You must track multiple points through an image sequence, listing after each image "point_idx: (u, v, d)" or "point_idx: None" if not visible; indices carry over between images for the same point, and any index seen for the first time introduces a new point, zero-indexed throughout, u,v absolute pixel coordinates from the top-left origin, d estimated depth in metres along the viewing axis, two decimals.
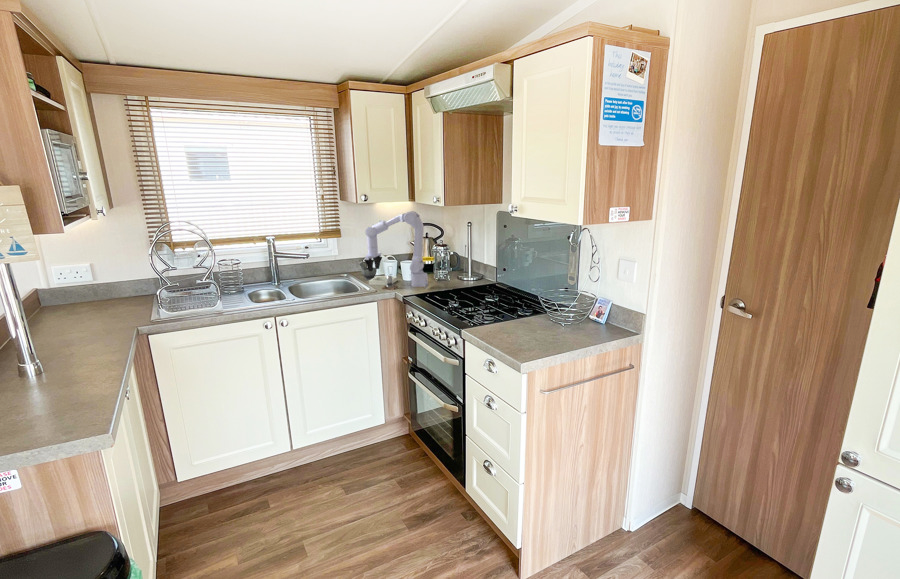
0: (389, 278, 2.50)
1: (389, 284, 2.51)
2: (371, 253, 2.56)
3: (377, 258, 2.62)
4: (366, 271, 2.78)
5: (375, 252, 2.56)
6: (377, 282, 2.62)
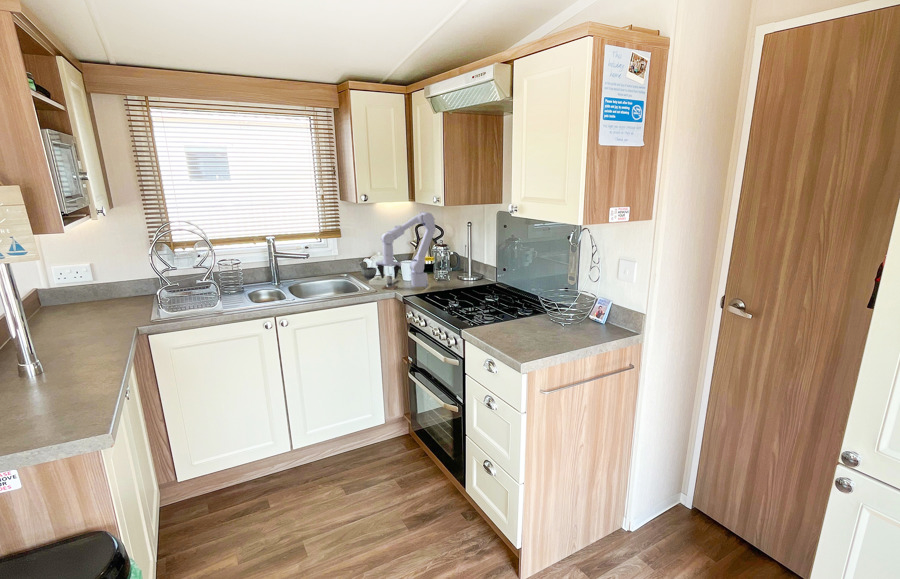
0: (389, 278, 2.50)
1: (389, 284, 2.51)
2: (383, 260, 2.49)
3: None
4: (366, 271, 2.78)
5: (384, 260, 2.47)
6: (377, 282, 2.62)
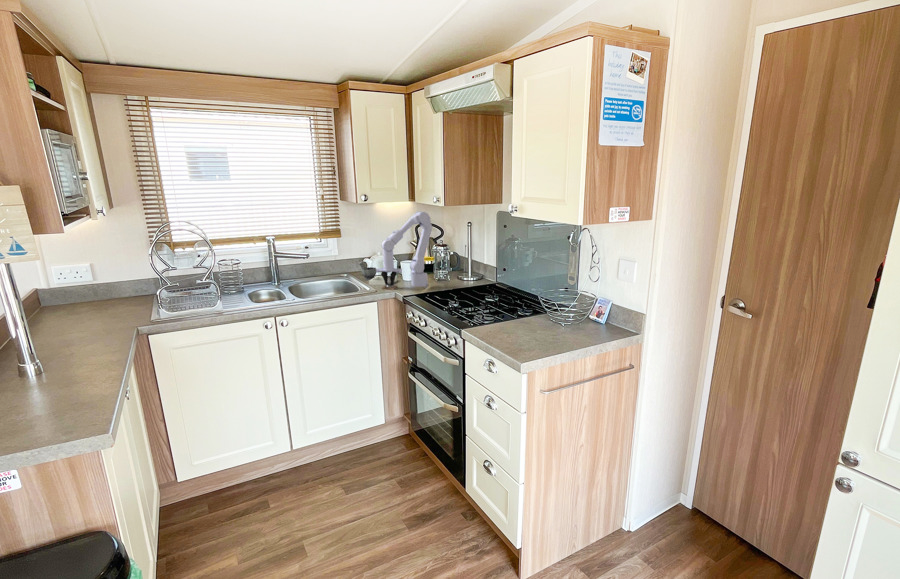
0: (389, 278, 2.50)
1: (389, 284, 2.51)
2: None
3: None
4: (366, 271, 2.78)
5: (385, 267, 2.48)
6: (377, 282, 2.62)
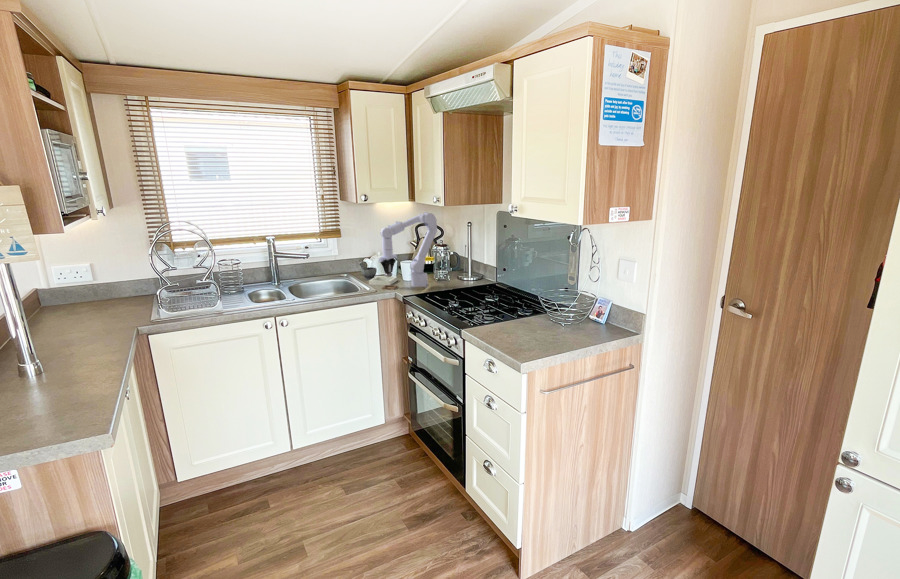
0: (390, 265, 2.51)
1: (390, 272, 2.51)
2: (385, 255, 2.47)
3: (390, 261, 2.51)
4: (366, 271, 2.78)
5: (389, 254, 2.47)
6: (377, 282, 2.62)
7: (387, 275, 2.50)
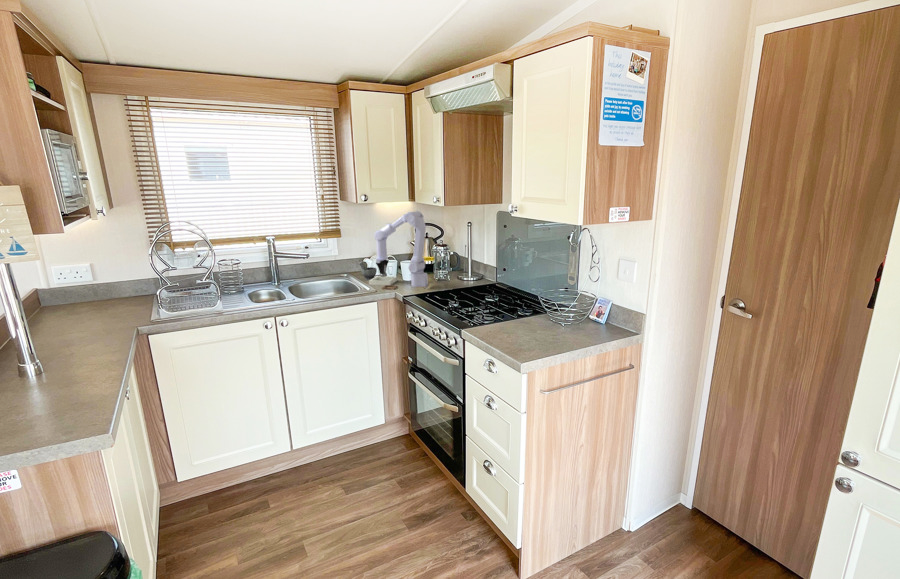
0: (385, 266, 2.65)
1: (385, 272, 2.66)
2: (381, 256, 2.61)
3: (384, 262, 2.67)
4: (366, 271, 2.78)
5: (385, 255, 2.62)
6: (377, 282, 2.62)
7: (382, 275, 2.65)
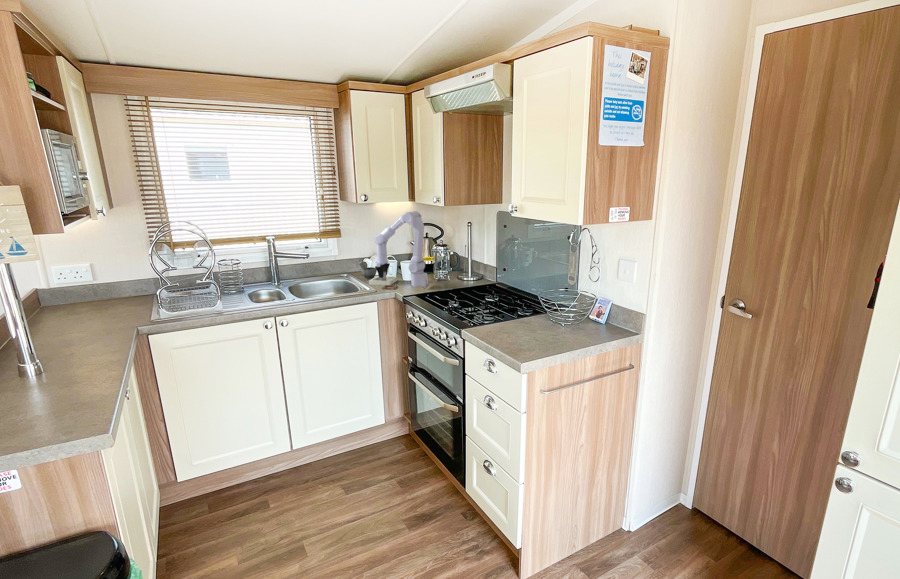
0: (385, 273, 2.67)
1: None
2: (381, 260, 2.62)
3: (385, 265, 2.69)
4: (366, 271, 2.78)
5: (385, 259, 2.63)
6: (377, 282, 2.62)
7: None
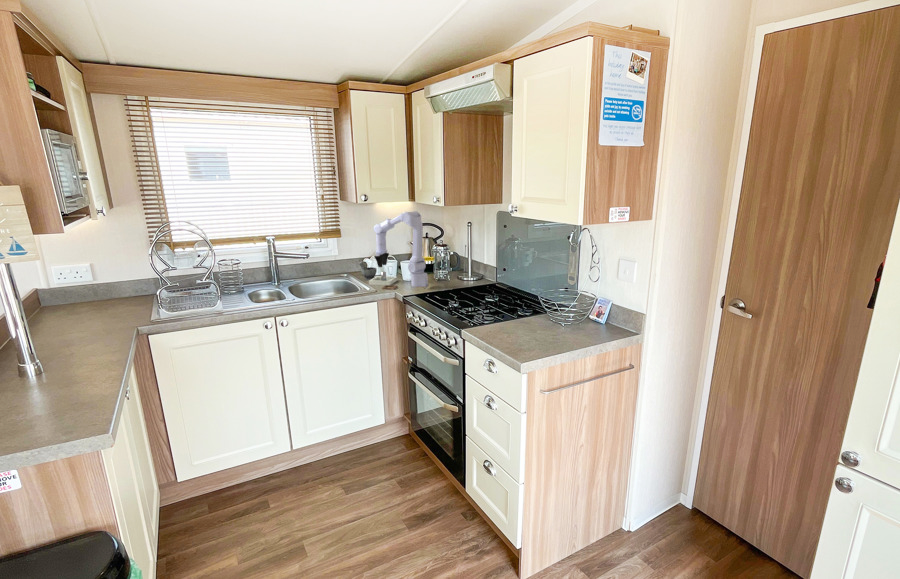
0: (385, 273, 2.67)
1: None
2: (380, 250, 2.66)
3: (384, 254, 2.73)
4: (366, 271, 2.78)
5: (384, 249, 2.67)
6: (377, 282, 2.62)
7: None
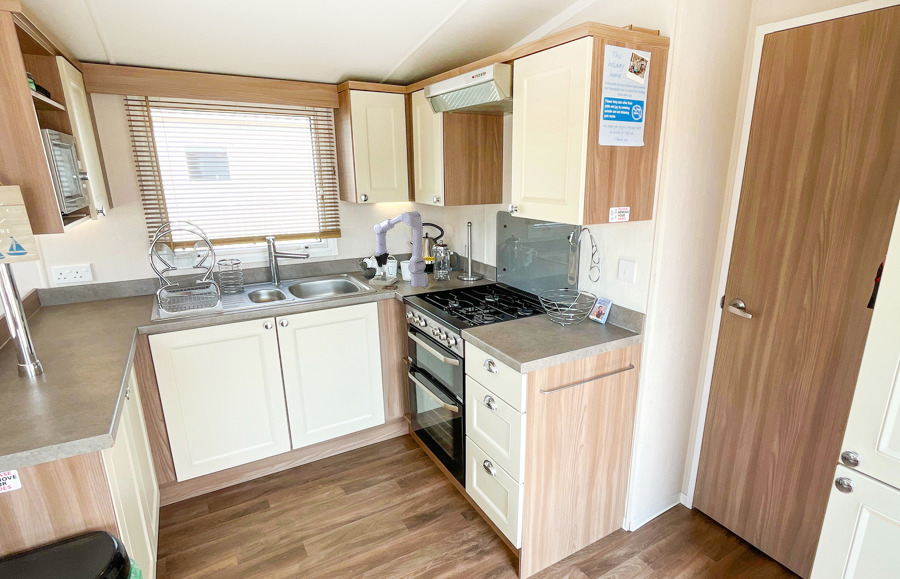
0: (385, 273, 2.67)
1: None
2: (381, 250, 2.66)
3: (384, 254, 2.73)
4: (366, 271, 2.78)
5: (384, 249, 2.67)
6: (377, 282, 2.62)
7: None
